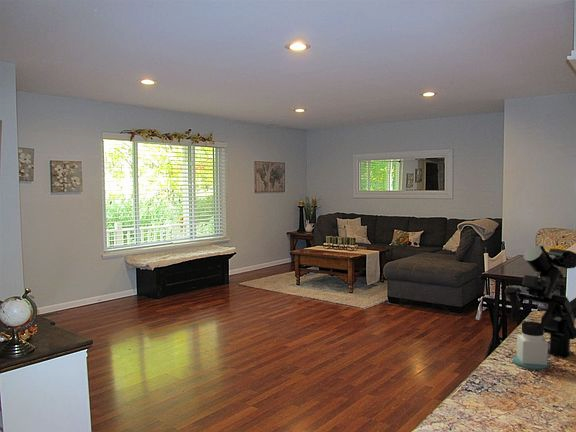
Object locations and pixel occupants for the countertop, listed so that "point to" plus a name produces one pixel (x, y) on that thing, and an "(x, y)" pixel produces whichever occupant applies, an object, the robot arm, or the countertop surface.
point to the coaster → (528, 366)
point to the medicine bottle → (532, 344)
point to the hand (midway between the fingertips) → (526, 321)
